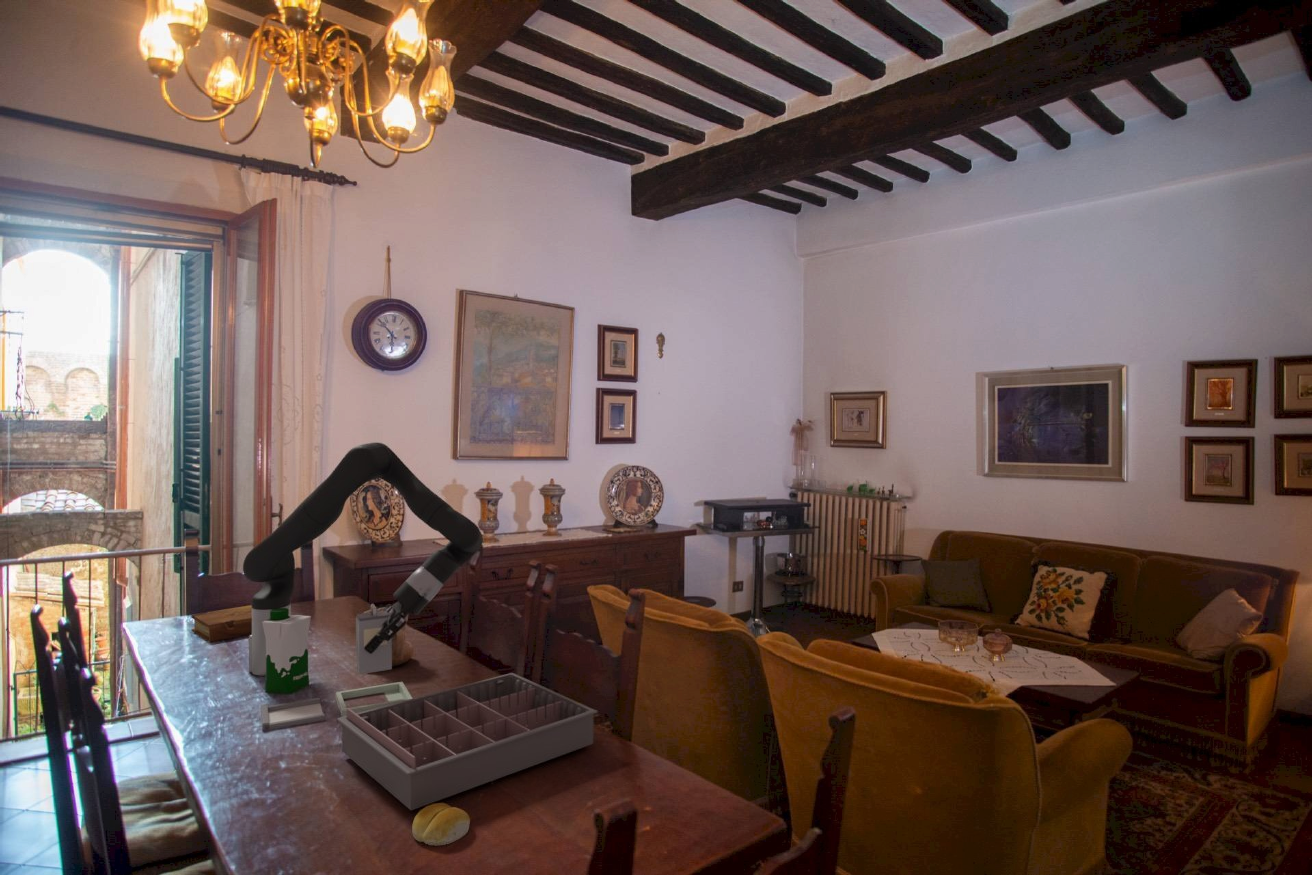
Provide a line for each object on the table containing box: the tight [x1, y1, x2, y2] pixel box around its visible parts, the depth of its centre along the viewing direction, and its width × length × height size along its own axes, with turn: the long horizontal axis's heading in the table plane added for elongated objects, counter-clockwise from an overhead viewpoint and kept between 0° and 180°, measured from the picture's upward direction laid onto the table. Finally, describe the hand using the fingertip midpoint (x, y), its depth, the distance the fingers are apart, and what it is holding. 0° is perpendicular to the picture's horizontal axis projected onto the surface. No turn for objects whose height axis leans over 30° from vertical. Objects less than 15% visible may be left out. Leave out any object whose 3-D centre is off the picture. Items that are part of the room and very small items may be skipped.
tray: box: [335, 681, 413, 717], centre depth 173 cm, size 15×13×2 cm
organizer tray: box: [336, 672, 599, 811], centre depth 148 cm, size 32×40×10 cm
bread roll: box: [411, 802, 471, 847], centre depth 119 cm, size 8×9×4 cm
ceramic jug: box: [363, 607, 414, 668], centre depth 203 cm, size 18×14×14 cm
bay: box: [260, 697, 326, 732], centre depth 164 cm, size 12×12×2 cm
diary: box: [190, 604, 252, 643], centre depth 237 cm, size 23×19×6 cm
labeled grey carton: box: [355, 603, 393, 675], centre depth 172 cm, size 7×5×15 cm
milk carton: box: [262, 608, 312, 695], centre depth 181 cm, size 9×9×20 cm
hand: (365, 647), depth 172 cm, fingers closed on labeled grey carton, 5 cm apart
